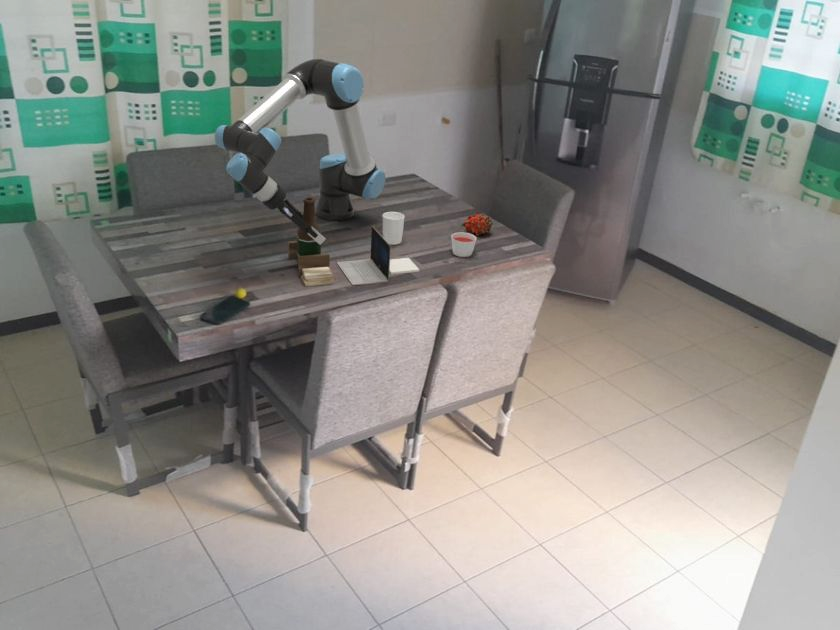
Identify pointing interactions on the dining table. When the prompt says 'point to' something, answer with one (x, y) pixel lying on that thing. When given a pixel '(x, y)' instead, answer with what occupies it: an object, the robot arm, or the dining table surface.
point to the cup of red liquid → (463, 244)
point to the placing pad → (402, 266)
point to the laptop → (370, 263)
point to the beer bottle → (305, 242)
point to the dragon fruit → (477, 224)
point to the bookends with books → (312, 267)
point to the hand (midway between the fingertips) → (319, 236)
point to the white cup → (393, 227)
